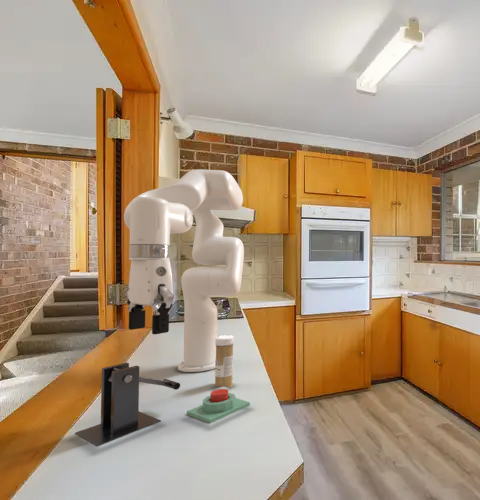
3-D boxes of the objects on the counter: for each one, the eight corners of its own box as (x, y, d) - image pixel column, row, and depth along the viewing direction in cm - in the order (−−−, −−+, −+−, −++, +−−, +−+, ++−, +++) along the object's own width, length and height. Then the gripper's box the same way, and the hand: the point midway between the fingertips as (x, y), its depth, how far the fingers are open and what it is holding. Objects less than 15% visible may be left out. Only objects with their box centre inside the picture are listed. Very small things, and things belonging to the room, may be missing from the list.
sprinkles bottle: (211, 387, 93) (212, 336, 93) (227, 383, 96) (228, 334, 97) (219, 391, 90) (220, 339, 90) (236, 386, 93) (237, 336, 94)
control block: (226, 402, 83) (226, 387, 83) (249, 409, 79) (250, 394, 80) (186, 419, 75) (186, 402, 75) (210, 428, 71) (210, 410, 71)
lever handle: (164, 388, 79) (169, 377, 80) (177, 392, 77) (182, 381, 78) (103, 379, 69) (110, 366, 70) (116, 383, 66) (122, 370, 67)
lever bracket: (137, 416, 76) (138, 357, 76) (160, 426, 72) (162, 363, 72) (74, 438, 66) (76, 371, 67) (97, 452, 62) (98, 379, 62)
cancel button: (221, 395, 80) (221, 387, 80) (231, 398, 78) (231, 390, 78) (206, 401, 76) (206, 393, 76) (217, 404, 75) (217, 396, 75)
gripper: (189, 253, 76) (187, 332, 76) (147, 254, 85) (145, 324, 85) (153, 252, 70) (151, 338, 69) (111, 253, 79) (110, 329, 78)
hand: (148, 330), depth 77 cm, fingers open, 9 cm apart
